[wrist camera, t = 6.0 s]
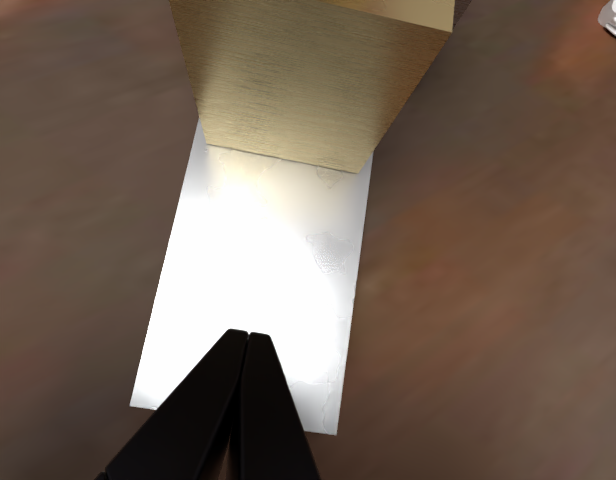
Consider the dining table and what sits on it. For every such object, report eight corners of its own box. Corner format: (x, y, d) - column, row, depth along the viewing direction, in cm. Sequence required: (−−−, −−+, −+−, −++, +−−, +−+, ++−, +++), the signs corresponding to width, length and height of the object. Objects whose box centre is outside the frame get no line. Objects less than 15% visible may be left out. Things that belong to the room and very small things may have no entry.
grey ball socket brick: (372, 431, 16) (553, 589, 6) (94, 391, 15) (-199, 504, 5) (423, -29, 21) (568, -336, 11) (217, -79, 20) (182, -462, 10)
